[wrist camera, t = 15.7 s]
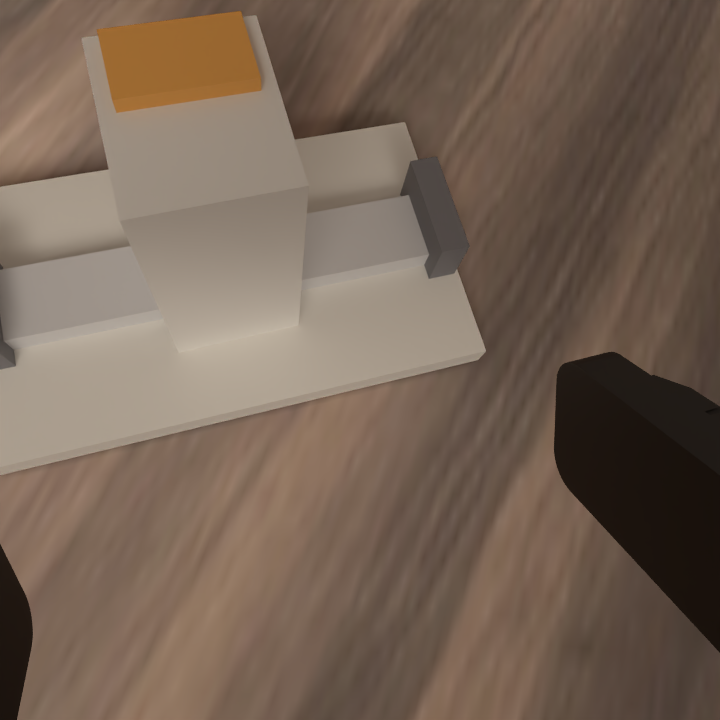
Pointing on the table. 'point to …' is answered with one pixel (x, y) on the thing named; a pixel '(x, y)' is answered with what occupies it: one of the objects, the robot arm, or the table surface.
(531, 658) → the table surface
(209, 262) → the rail module
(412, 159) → the mounting board
